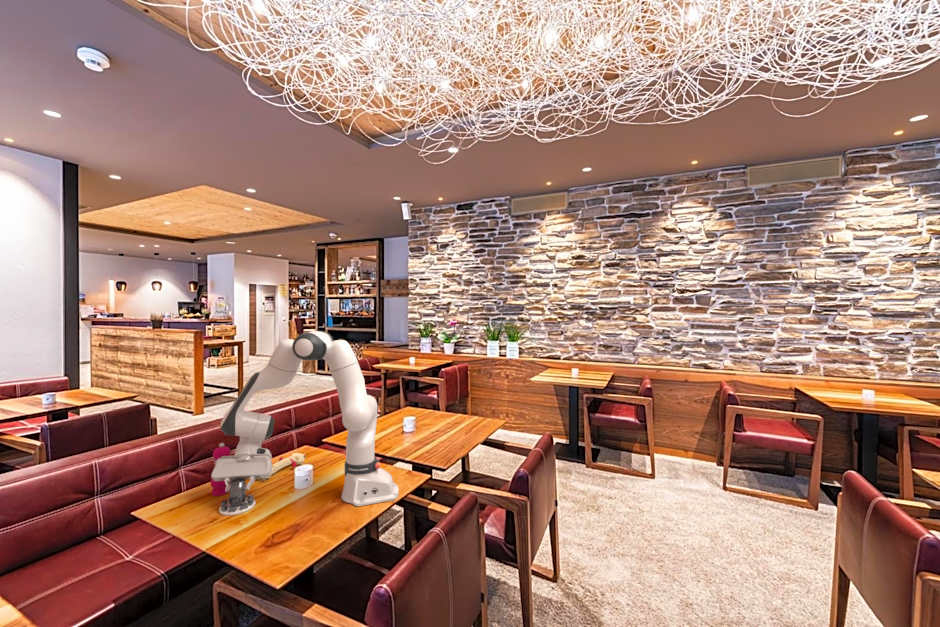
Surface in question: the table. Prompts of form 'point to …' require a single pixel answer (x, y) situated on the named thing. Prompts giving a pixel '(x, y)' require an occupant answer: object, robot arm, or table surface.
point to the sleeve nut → (237, 491)
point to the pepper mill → (218, 452)
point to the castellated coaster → (237, 506)
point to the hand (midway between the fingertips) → (237, 490)
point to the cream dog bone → (286, 463)
